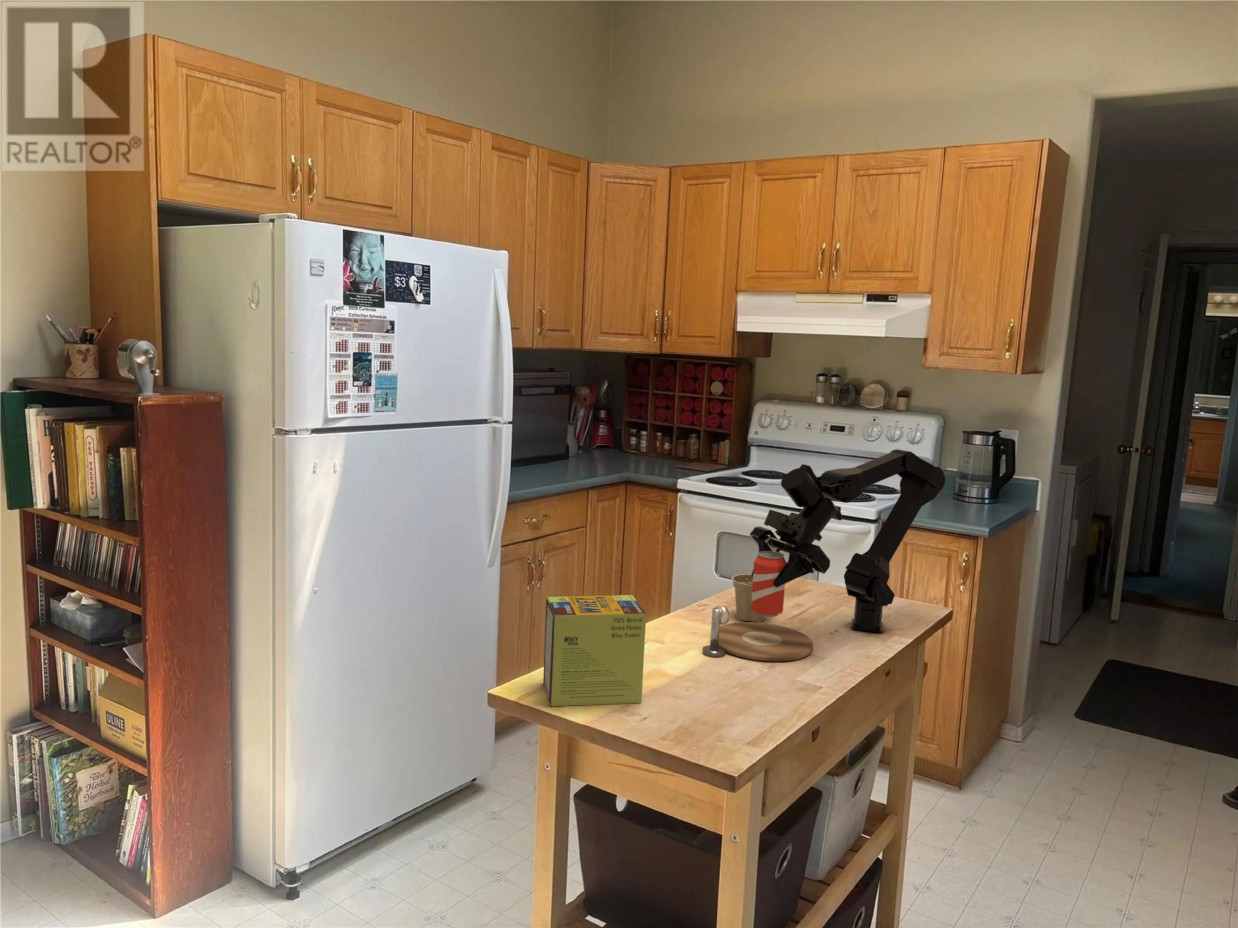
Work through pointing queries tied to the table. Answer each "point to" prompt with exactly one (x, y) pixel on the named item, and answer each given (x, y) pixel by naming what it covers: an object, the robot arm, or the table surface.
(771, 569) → the beverage can
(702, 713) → the table surface
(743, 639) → the lazy susan
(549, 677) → the protein box
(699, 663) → the table surface
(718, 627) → the metal door stop
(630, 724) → the table surface
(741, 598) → the flower pot
